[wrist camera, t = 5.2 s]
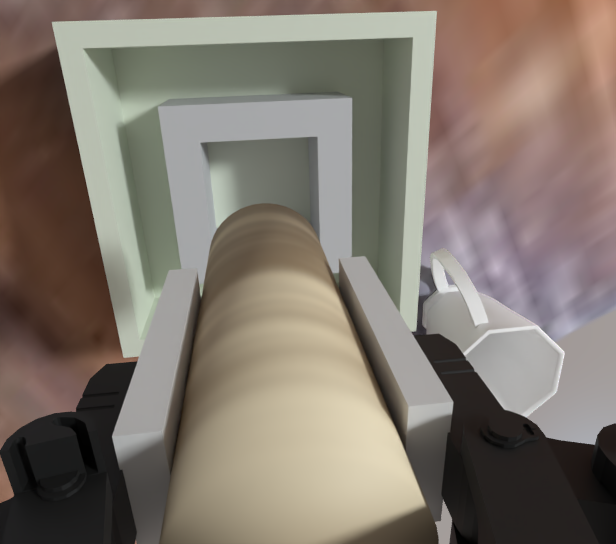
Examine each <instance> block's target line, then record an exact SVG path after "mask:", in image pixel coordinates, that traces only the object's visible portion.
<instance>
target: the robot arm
mask: <svg viewBox="0 0 616 544" xmlns="http://www.w3.org/2000/svg"><path fill="white" fill-rule="evenodd" d="M339 290H340V292H341V295H342V297H343V300H344V302H345V304H346V307H347V309H348V312H349V314H350V317H351V319H352V321H353V324H354V326H355V329H356V331H357V334H358V336H359V338H360V341H361V343H362V346H363V348H364V351H365V353H366V355H367V358H368V360H369V363H370V365H371V368H372V370H373V373H374V375H375V377H376V380H377V382H378V385H379V387H380V390H381V392H382V394H383V397H384V399H385V402H386V404H387V407H388V409H389V411H390V414H391V416H392V419H393V421H394V424H395V426H396V428H397V431H398V433H399V436H400V438H401V441H402V443H403V446H404V448H405V450H406V453H407V455H408V458H409V460H410V463H411V465H412V467H413V470H414V472H415V475H416V477H417V480H418V482H419V484H420V487H421V489H422V492H423V494H424V497H425V499H426V501H427V504H428V506H429V509H430V511H431V514H432V516H433V519H434V522H436V521H441V512H442V503H443V499H444V502H445V504H446V506H447V508H448V511H449V513H450V515H451V517H452V527H451V535H450V544H616V424H612V425H609V426H606V427H603V429H602V430H601V431H600V433H599V434H598V435H597V439H596V443H595V445H591V444H584V443H576V442H568V441H561V440H555V439H551V438H546V437H545V435H544V433H543V432H542V431H541V430H540V428H539V427H538V426H537V425H536V424H535V423H533V422H532V421H530V420H529V419H527V418H526V417H525V416H522V415H519V414H517V413H514V412H512V411H508V410H504V409H503V407H502V406H501V405H500V403H499V402H498V401H497V399H496V398H495V396H494V395H493V394H492V392H491V391H490V390H489V388H488V387H487V386H486V384H485V383H484V382H483V380H482V379H481V377H480V376H479V375H478V373H477V372H475V371H474V368H473V367H472V365H471V364H470V362H469V361H468V360H467V361H466V357H465V356H464V354H463V353H462V352H461V350H460V349H459V348H458V346H457V345H456V344H455V343H453V342H452V341H450V340H449V339H447V338H445V337H444V336H442V335H441V334H428V335H416V336H413V334H412V333H411V331H410V329H409V328H408V326H407V324H406V323H405V321H404V319H403V318H402V316H401V315H400V313H399V311H398V310H397V308H396V306H395V305H394V303H393V301H392V300H391V298H390V296H389V295H388V293H387V291H386V290H385V288H384V286H383V285H382V283H381V281H380V280H379V278H378V277H377V275H376V273H375V272H374V270H373V268H372V267H371V265H370V263H369V262H368V260H367V258H366V257H365V256H361V257H347V258H339ZM200 303H201V295H200V287H199V279H198V271H197V268H192V269H178V270H169V272H168V275H167V277H166V280H165V283H164V286H163V289H162V292H161V295H160V298H159V301H158V304H157V307H156V309H155V312H154V315H153V318H152V321H151V324H150V327H149V330H148V333H147V336H146V339H145V342H144V344H143V347H142V350H141V353H140V356H139V359H138V362H126V363H115V364H106V365H105V366H104V367H103V368H102V369H100V370H99V371H98V372H97V373H96V374H95V375H94V376H93V377H92V378H91V379H90V380H89V382H88V384H87V386H86V389H85V391H84V393H83V395H82V396H83V397H82V398H81V399H80V401H79V403H78V405H77V408H76V412H63V413H54V414H51V415H48V416H45V417H41V418H38V419H36V420H34V421H32V422H30V423H28V424H27V425H25V426H23V427H21V428H20V429H18V430H17V431H16V432H15V433H14V434H13V435H11V436H10V437H9V438H8V439H7V440H6V442H5V443H4V445H3V447H2V448H1V450H0V455H1V458H2V461H3V464H4V467H5V469H6V472H7V475H8V478H9V481H10V483H11V486H12V489H13V492H14V497H13V498H11V499H9V500H7V501H4V502H2V503H0V544H135V539H136V542H137V544H159V541H160V535H161V529H162V523H163V518H164V512H165V506H166V500H167V494H168V488H169V483H170V477H171V471H172V465H173V459H174V454H175V448H176V442H177V436H178V430H179V425H180V419H181V413H182V407H183V401H184V396H185V390H186V384H187V378H188V372H189V366H190V361H191V355H192V349H193V343H194V337H195V332H196V326H197V320H198V314H199V308H200Z"/></svg>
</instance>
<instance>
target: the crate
mask: <svg viewBox="0 0 616 544" xmlns="http://www.w3.org/2000/svg"><path fill="white" fill-rule="evenodd" d="M436 15H437V11H420V12H385V13H349V14H314V15H279V16H244V17H209V18H173V19H138V20H103V21H68V22H52V25H53V30H54V35H55V39H56V44H57V49H58V53H59V58H60V63H61V67H62V72H63V77H64V81H65V86H66V91H67V95H68V100H69V105H70V109H71V114H72V119H73V123H74V128H75V133H76V137H77V142H78V147H79V151H80V156H81V161H82V165H83V170H84V175H85V179H86V184H87V189H88V193H89V198H90V203H91V207H92V212H93V217H94V221H95V226H96V231H97V235H98V240H99V245H100V249H101V254H102V259H103V263H104V268H105V273H106V278H107V282H108V287H109V292H110V296H111V301H112V306H113V310H114V315H115V320H116V324H117V329H118V334H119V338H120V343H121V348H122V352H123V357H124V358H126V357H137V356H140V353H141V350H142V347H143V344H144V342H145V339H146V336H147V333H148V330H149V327H150V324H151V321H152V318H153V315H154V312H155V309H156V307H157V304H158V301H159V298H160V295H161V292H162V289H163V286H164V283H165V280H166V277H167V275H168V272H169V270H178V269H192V268H197V271H198V279H199V287H200V295H201V297H202V291H203V285H204V279H205V273H206V268H207V262H208V256H209V250H210V245H211V241H212V239H213V236H214V234H215V232H216V230H217V229H218V227H219V226H220V225H221V223H222V222H223V221H224V220H225V219H226V218H227V217H228V216H230V215H231V214H233V213H234V212H236V211H238V210H239V209H241V208H244V207H246V206H250V205H254V204H261V203H271V204H278V205H282V206H285V207H288V208H290V209H292V210H294V211H296V212H298V213H299V214H300V215H302V216H303V217H304V218H305V219H306V220H307V221H308V222H309V223H310V224H311V226H312V227H313V228H314V230H315V232H316V234H317V236H318V239H319V241H320V244H321V246H322V248H323V251H324V253H325V256H326V258H327V261H328V263H329V265H330V268H331V270H332V273H333V275H334V278H335V280H336V283H337V285H338V287H339V258H347V257H361V256H365V257H366V258H367V260H368V262H369V263H370V265H371V267H372V268H373V270H374V272H375V273H376V275H377V277H378V278H379V280H380V281H381V283H382V285H383V286H384V288H385V290H386V291H387V293H388V295H389V296H390V298H391V300H392V301H393V303H394V305H395V306H396V308H397V310H398V311H399V313H400V315H401V316H402V318H403V319H404V321H405V323H406V324H407V326H408V328H409V329H410V331H416V327H417V311H418V296H419V280H420V265H421V249H422V234H423V218H424V202H425V187H426V171H427V156H428V140H429V124H430V109H431V93H432V78H433V62H434V47H435V31H436Z"/></svg>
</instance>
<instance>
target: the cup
mask: <svg viewBox="0 0 616 544" xmlns="http://www.w3.org/2000/svg"><path fill="white" fill-rule="evenodd" d="M430 264H431V272H432V276H433V280H434V283H435V286H436V289H437V290H436V291H435V292H434V293H433V294H432V295H431V296H430V297H429V298H428V299H427V300H426V301H425V302H424V303H423V315H422V325H423V326H424V327H425V328H426V329H427V332H426V334H427V335H428V334H441V335H442V336H444V337H445V338H447V339H449V340H450V341H452V342H453V343H455V344H456V345H457V346H458V348H459V349H460V350H461V352H462V353H463V354H464V356H465V357H466V361H467V360H468V361H469V362H470V364H471V365H472V367H473V368H474V371H475V372H477V373H478V375H479V376H480V377H481V379H482V380H483V382H484V383H485V384H486V386H487V387H488V388H489V390H490V391H491V392H492V394H493V395H494V396H495V398H496V399H497V401H498V402H499V403H500V405H501V406H502V407H503V409H504V410H508V411H512V412H514V413H517V414H519V415H522V416H525V417H528V416H529V415H530V414H531V413H532V412H534V411H535V410H536V409H537V408H538V407H540V406H541V405H542V404H543V403H544V402H546V401H547V400H548V399H549V398H550V397H551V396H553V395H554V394H555V393H556V392H557V388H558V383H559V379H560V373H561V369H562V364H563V359H564V354H565V352H564V351H563V350H562V349H561V348H560V347H559V346H558V345H557V344H556V343H555V342H554V341H553V340H552V339H551V338H550V337H549V336H548V335H547V334H545V333H544V332H543V331H542V330H541V329H540V328H539V327H538V326H537V325H536V324H534V323H532V322H531V321H529V320H528V319H526V318H524V317H523V316H521V315H519V314H518V313H516V312H514V311H512V310H511V309H509V308H508V307H506V306H504V305H503V304H501V303H500V302H498V301H496V300H495V299H493V298H492V297H489V296H487V295H484V294H482V293H479V292H477V291H476V289H475V287H474V285H473V283H472V282H471V280H470V278H469V277H468V275H467V273H466V272H465V270H464V269H463V268H462V267H461V265H460V264H459V263H458V261H457V260H456V259H455V258H454V257H453V255H452V254H451V253H450V252H449V251H448V250H446V249H443V248H442V249H440V250H438V251H436V252H433V253H431V256H430ZM444 269H445V270H446V271H447V273H448V274H449V275H450V277H451V278H452V280H453V281H454V283H455V285H448V283H447V281H446V277H445V272H444Z"/></svg>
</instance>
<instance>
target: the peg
mask: <svg viewBox="0 0 616 544" xmlns="http://www.w3.org/2000/svg"><path fill="white" fill-rule="evenodd" d="M159 544H438V533H437V527H436V524H435V522H434V519H433V516H432V514H431V511H430V509H429V506H428V504H427V501H426V499H425V497H424V494H423V492H422V489H421V487H420V484H419V482H418V480H417V477H416V475H415V472H414V470H413V467H412V465H411V463H410V460H409V458H408V455H407V453H406V450H405V448H404V446H403V443H402V441H401V438H400V436H399V433H398V431H397V428H396V426H395V424H394V421H393V419H392V416H391V414H390V411H389V409H388V407H387V404H386V402H385V399H384V397H383V394H382V392H381V390H380V387H379V385H378V382H377V380H376V377H375V375H374V373H373V370H372V368H371V365H370V363H369V360H368V358H367V355H366V353H365V351H364V348H363V346H362V343H361V341H360V338H359V336H358V334H357V331H356V329H355V326H354V324H353V321H352V319H351V317H350V314H349V312H348V309H347V307H346V304H345V302H344V300H343V297H342V295H341V292H340V290H339V287H338V285H337V283H336V280H335V278H334V275H333V273H332V270H331V268H330V265H329V263H328V261H327V258H326V256H325V253H324V251H323V248H322V246H321V244H320V241H319V239H318V236H317V234H316V232H315V230H314V228H313V227H312V226H311V224H310V223H309V222H308V221H307V220H306V219H305V218H304V217H303V216H302V215H300V214H299V213H298V212H296V211H294V210H292V209H290V208H288V207H285V206H282V205H278V204H271V203H261V204H254V205H250V206H246V207H244V208H241V209H239V210H238V211H236V212H234V213H233V214H231V215H230V216H228V217H227V218H226V219H225V220H224V221H223V222H222V223H221V225H220V226H219V227H218V229H217V230H216V232H215V234H214V236H213V239H212V241H211V245H210V250H209V256H208V262H207V268H206V273H205V279H204V285H203V291H202V297H201V303H200V308H199V314H198V320H197V326H196V332H195V337H194V343H193V349H192V355H191V361H190V366H189V372H188V378H187V384H186V390H185V396H184V401H183V407H182V413H181V419H180V425H179V430H178V436H177V442H176V448H175V454H174V459H173V465H172V471H171V477H170V483H169V488H168V494H167V500H166V506H165V512H164V518H163V523H162V529H161V535H160V541H159Z"/></svg>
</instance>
